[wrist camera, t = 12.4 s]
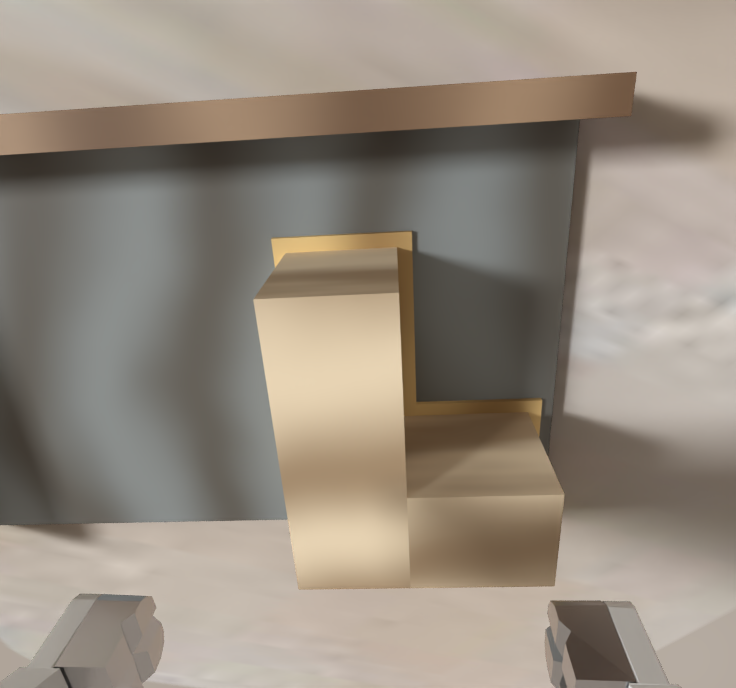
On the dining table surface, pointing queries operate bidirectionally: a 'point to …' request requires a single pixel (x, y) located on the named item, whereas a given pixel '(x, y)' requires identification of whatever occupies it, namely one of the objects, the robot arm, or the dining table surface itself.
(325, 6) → the dining table surface
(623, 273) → the dining table surface
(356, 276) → the oak L block
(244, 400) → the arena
